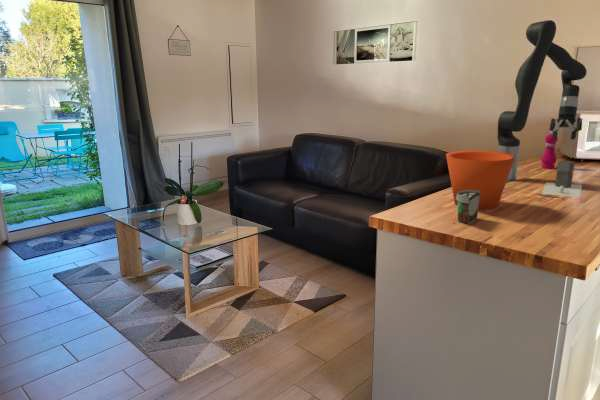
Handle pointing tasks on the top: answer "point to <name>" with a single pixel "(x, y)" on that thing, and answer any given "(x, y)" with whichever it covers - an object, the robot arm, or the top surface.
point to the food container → (467, 205)
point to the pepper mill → (549, 152)
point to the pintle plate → (566, 190)
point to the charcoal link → (564, 174)
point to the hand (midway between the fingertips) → (563, 139)
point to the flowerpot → (480, 174)
